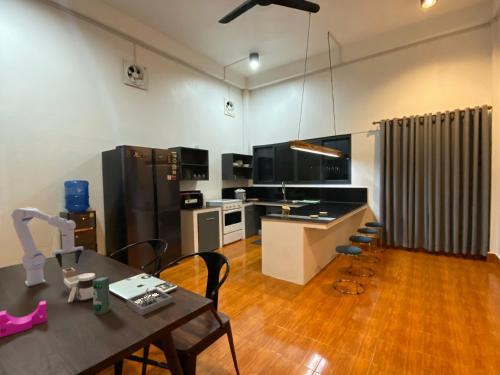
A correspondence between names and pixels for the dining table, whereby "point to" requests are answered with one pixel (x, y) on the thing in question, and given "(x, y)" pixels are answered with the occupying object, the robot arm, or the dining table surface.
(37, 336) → the dining table surface
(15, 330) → the magenta saddle bracket
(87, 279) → the spread jar
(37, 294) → the dining table surface
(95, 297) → the can
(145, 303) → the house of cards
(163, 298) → the grey square tray
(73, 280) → the white square tray
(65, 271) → the pine crate
